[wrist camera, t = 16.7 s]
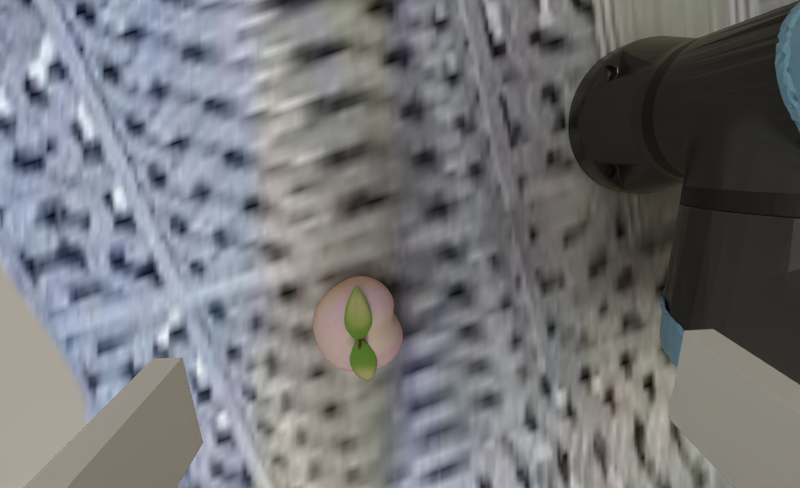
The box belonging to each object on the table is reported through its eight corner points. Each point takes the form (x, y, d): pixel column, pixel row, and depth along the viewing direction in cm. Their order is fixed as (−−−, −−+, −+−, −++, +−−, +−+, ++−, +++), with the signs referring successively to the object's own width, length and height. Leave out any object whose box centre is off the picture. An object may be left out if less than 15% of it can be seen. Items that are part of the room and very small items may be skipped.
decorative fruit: (308, 277, 42) (291, 312, 32) (382, 256, 42) (387, 285, 33) (334, 354, 44) (326, 409, 34) (404, 333, 44) (416, 382, 35)
